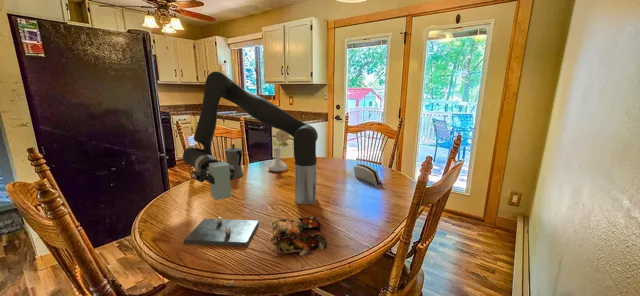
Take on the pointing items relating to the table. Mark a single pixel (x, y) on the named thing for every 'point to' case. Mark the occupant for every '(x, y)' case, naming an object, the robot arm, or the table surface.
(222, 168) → the block
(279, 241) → the food
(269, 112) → the robot arm
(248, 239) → the mounting plate
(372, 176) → the napkin holder
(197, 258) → the table surface
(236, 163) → the coffeepot
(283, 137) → the flower in vase
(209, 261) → the table surface
